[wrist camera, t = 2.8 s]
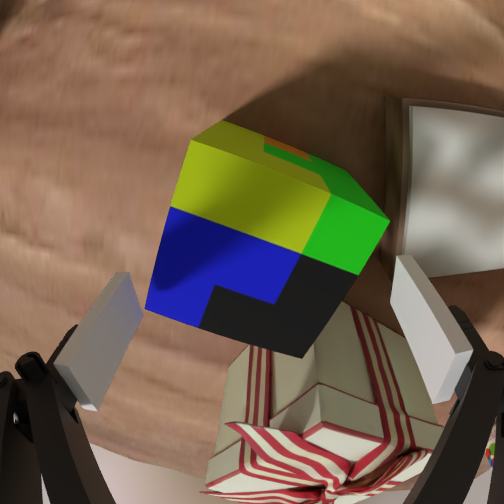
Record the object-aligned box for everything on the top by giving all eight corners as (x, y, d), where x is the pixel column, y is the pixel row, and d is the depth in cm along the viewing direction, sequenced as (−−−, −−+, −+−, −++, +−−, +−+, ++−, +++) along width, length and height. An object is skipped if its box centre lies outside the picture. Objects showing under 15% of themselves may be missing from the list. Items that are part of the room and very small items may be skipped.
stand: (384, 96, 20) (405, 98, 17) (515, 113, 19) (543, 120, 16) (379, 261, 27) (394, 286, 23) (498, 250, 26) (518, 270, 22)
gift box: (264, 257, 27) (258, 449, 12) (415, 328, 31) (472, 467, 15) (193, 371, 35) (164, 510, 20) (325, 413, 38) (337, 531, 23)
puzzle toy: (182, 234, 27) (144, 308, 18) (221, 119, 22) (191, 139, 13) (293, 273, 28) (301, 359, 19) (345, 170, 23) (390, 220, 15)
